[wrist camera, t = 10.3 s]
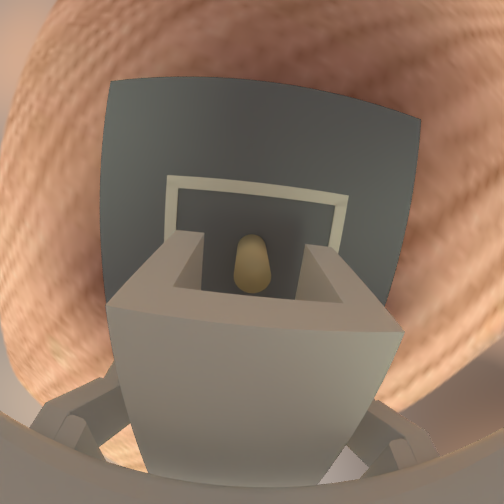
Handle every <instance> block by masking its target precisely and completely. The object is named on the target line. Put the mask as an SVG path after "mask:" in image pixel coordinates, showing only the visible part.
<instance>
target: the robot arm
mask: <svg viewBox="0 0 504 504" xmlns="http://www.w3.org/2000/svg"><path fill="white" fill-rule="evenodd" d="M128 424H130V420H129V416H128V413H127V409H126V406H125V402H124V399H123V395H122V391H121V387H120V383H119V379H118V374H117V370H116V365H115V361H113V363H112V365H111V366H110V368H109V370H108V371H107V373H106V375H105V377H104V378H97V379H95V380H93V381H91V382H89V383H87V384H85V385H83V386H81V387H78V388H76V389H74V390H72V391H70V392H68V393H66V394H63V395H61V396H59V397H57V398H55V399H52V400H50V401H48V402H46V403H45V404H44V406H43V407H42V409H41V411H40V412H39V414H38V415H37V417H36V418H35V420H34V421H33V423H32V425H31V426H30V428H28V427H26V426H25V425H23V424H21V423H19V422H18V421H16V420H14V419H12V418H11V417H9V416H8V415H6V414H5V413H3V412H1V411H0V504H504V427H503V428H501V429H500V430H498V431H496V432H494V433H492V434H490V435H488V436H487V437H484V438H482V439H480V440H478V441H476V442H474V443H472V444H470V445H467V446H465V447H463V448H461V449H459V450H456V451H454V452H451V453H449V454H446V455H444V456H441V457H440V456H439V453H438V452H437V450H436V448H435V446H434V444H433V442H432V440H431V438H430V436H429V434H428V432H427V431H426V430H424V429H422V428H421V427H419V426H417V425H416V424H414V423H413V422H411V421H410V420H408V419H407V418H405V417H404V416H402V415H400V414H399V413H397V412H396V411H394V410H393V409H391V408H390V407H388V406H387V405H385V404H384V403H382V402H381V401H379V400H376V401H375V399H373V401H372V402H371V404H370V406H369V408H368V410H367V411H366V413H365V415H364V417H363V418H362V420H361V422H360V423H359V425H358V427H357V428H356V430H355V432H354V433H353V435H352V436H351V438H350V439H349V441H348V443H347V444H346V445H347V446H348V447H349V448H350V449H351V450H352V451H353V452H354V453H355V454H356V455H357V456H358V457H359V458H360V459H361V460H362V461H363V462H364V463H365V464H366V465H367V466H368V467H369V469H368V470H367V471H366V472H365V473H364V474H363V475H362V476H361V478H360V479H356V480H351V481H344V482H338V483H330V484H321V485H310V486H295V487H239V486H225V485H214V484H205V483H197V482H190V481H184V480H178V479H172V478H167V477H162V476H158V475H153V474H149V473H145V472H141V471H137V470H133V469H129V468H126V467H122V466H119V465H116V464H112V463H109V462H107V461H106V460H105V458H104V456H103V454H102V453H101V451H100V449H99V447H100V446H101V445H102V444H104V443H105V442H106V441H108V440H109V439H110V438H112V437H113V436H114V435H115V434H117V433H118V432H119V431H121V430H122V429H123V428H125V427H126V426H127V425H128Z"/></svg>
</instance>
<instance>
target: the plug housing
mask: <svg viewBox="0 0 504 504" xmlns="http://www.w3.org/2000/svg"><path fill="white" fill-rule="evenodd" d="M203 247H204V233H202V232H192V231H182V230H176V231H175V232H174V233H173V234H172V235H171V236H170V237H169V238H168V239H167V240H166V241H165V242H164V243H163V244H162V245H161V246H160V247H159V248H158V249H157V250H156V251H155V252H154V253H153V254H152V255H151V256H150V257H149V258H148V260H147V261H146V262H145V263H144V264H143V265H142V266H141V267H140V268H139V269H138V270H137V271H136V272H135V273H134V274H133V275H132V276H131V277H130V278H129V280H128V281H127V282H126V283H125V284H124V285H123V286H122V287H121V288H120V289H119V290H118V291H117V293H116V294H115V295H114V296H113V297H112V298H111V299H110V300H109V301H108V303H107V304H106V305H105V307H106V314H107V321H108V328H109V334H110V340H111V345H112V351H113V356H114V361H115V365H116V370H117V374H118V379H119V383H120V387H121V391H122V395H123V399H124V402H125V406H126V409H127V413H128V416H129V420H130V423H131V426H132V429H133V432H134V435H135V438H136V441H137V444H138V447H139V450H140V453H141V455H142V458H143V461H144V463H145V466H146V468H147V471H148V473H149V474H153V475H158V476H162V477H167V478H172V479H178V480H184V481H190V482H197V483H205V484H214V485H225V486H239V487H295V486H310V485H317V484H318V483H319V482H320V481H321V479H322V478H323V477H324V475H325V474H326V473H327V471H328V470H329V469H330V467H331V466H332V464H333V463H334V461H335V460H336V459H337V457H338V456H339V454H340V453H341V452H342V450H343V449H344V447H345V446H346V444H347V443H348V441H349V439H350V438H351V436H352V435H353V433H354V432H355V430H356V428H357V427H358V425H359V423H360V422H361V420H362V418H363V417H364V415H365V413H366V411H367V410H368V408H369V406H370V404H371V402H372V401H373V399H374V397H375V395H376V393H377V391H378V389H379V387H380V385H381V384H382V382H383V380H384V378H385V375H386V373H387V371H388V369H389V367H390V365H391V363H392V361H393V359H394V356H395V354H396V352H397V350H398V347H399V345H400V343H401V340H402V338H403V335H404V333H405V331H404V330H403V329H402V328H401V326H400V325H399V324H398V323H397V321H396V320H395V319H394V318H393V317H392V315H391V314H390V313H389V312H388V311H387V309H386V308H385V307H384V306H383V305H382V303H381V302H380V301H379V300H378V299H377V297H376V296H375V295H374V294H373V293H372V292H371V290H370V289H369V288H368V287H367V286H366V285H365V284H364V282H363V281H362V280H361V279H360V278H359V277H358V276H357V274H356V273H355V272H354V271H353V270H352V269H351V268H350V267H349V266H348V264H347V263H346V262H345V261H344V260H343V259H342V258H341V257H340V256H339V255H338V253H337V252H336V251H335V250H334V249H333V248H332V247H327V246H318V245H310V244H305V248H304V254H303V260H302V265H301V270H300V276H299V281H298V286H297V291H296V296H295V300H291V299H279V298H268V297H257V296H247V295H238V294H228V293H219V292H210V291H202V290H201V280H202V263H203Z"/></svg>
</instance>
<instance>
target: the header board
mask: <svg viewBox="0 0 504 504" xmlns="http://www.w3.org/2000/svg"><path fill="white" fill-rule="evenodd" d="M420 127H421V119H418V118H415V117H413V116H410V115H407V114H404V113H401V112H399V111H396V110H393V109H389V108H386V107H383V106H380V105H377V104H373V103H370V102H366V101H363V100H359V99H355V98H351V97H348V96H343V95H339V94H335V93H331V92H326V91H321V90H316V89H311V88H306V87H300V86H294V85H288V84H281V83H274V82H266V81H257V80H247V79H236V78H219V77H154V78H139V79H127V80H117V81H111V83H110V89H109V95H108V101H107V108H106V115H105V124H104V133H103V143H102V156H101V175H100V236H101V255H102V268H103V279H104V288H105V297H106V304H107V303H108V301H109V300H110V299H111V298H112V297H113V296H114V295H115V294H116V293H117V291H118V290H119V289H120V288H121V287H122V286H123V285H124V284H125V283H126V282H127V281H128V280H129V278H130V277H131V276H132V275H133V274H134V273H135V272H136V271H137V270H138V269H139V268H140V267H141V266H142V265H143V264H144V263H145V262H146V261H147V260H148V258H149V257H150V256H151V255H152V254H153V253H154V252H155V251H156V250H157V249H158V248H159V247H160V246H161V245H162V244H163V243H164V242H165V241H166V240H167V239H168V238H169V237H170V236H171V235H172V234H173V233H174V232H175V231H176V230H182V231H192V232H202V233H204V247H203V263H202V280H201V290H202V291H210V292H219V293H228V294H238V295H247V296H257V297H268V298H279V299H291V300H295V296H296V291H297V286H298V281H299V276H300V270H301V265H302V260H303V254H304V248H305V244H310V245H318V246H327V247H332V248H333V249H334V250H335V251H336V252H337V253H338V255H339V256H340V257H341V258H342V259H343V260H344V261H345V262H346V263H347V264H348V266H349V267H350V268H351V269H352V270H353V271H354V272H355V273H356V274H357V276H358V277H359V278H360V279H361V280H362V281H363V282H364V284H365V285H366V286H367V287H368V288H369V289H370V290H371V292H372V293H373V294H374V295H375V296H376V297H377V299H378V300H379V301H380V302H381V303H382V305H383V306H384V307H385V304H386V301H387V298H388V294H389V291H390V288H391V284H392V281H393V278H394V274H395V270H396V267H397V263H398V259H399V255H400V251H401V247H402V243H403V239H404V234H405V230H406V225H407V221H408V216H409V210H410V205H411V200H412V194H413V188H414V181H415V174H416V167H417V159H418V150H419V140H420Z"/></svg>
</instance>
